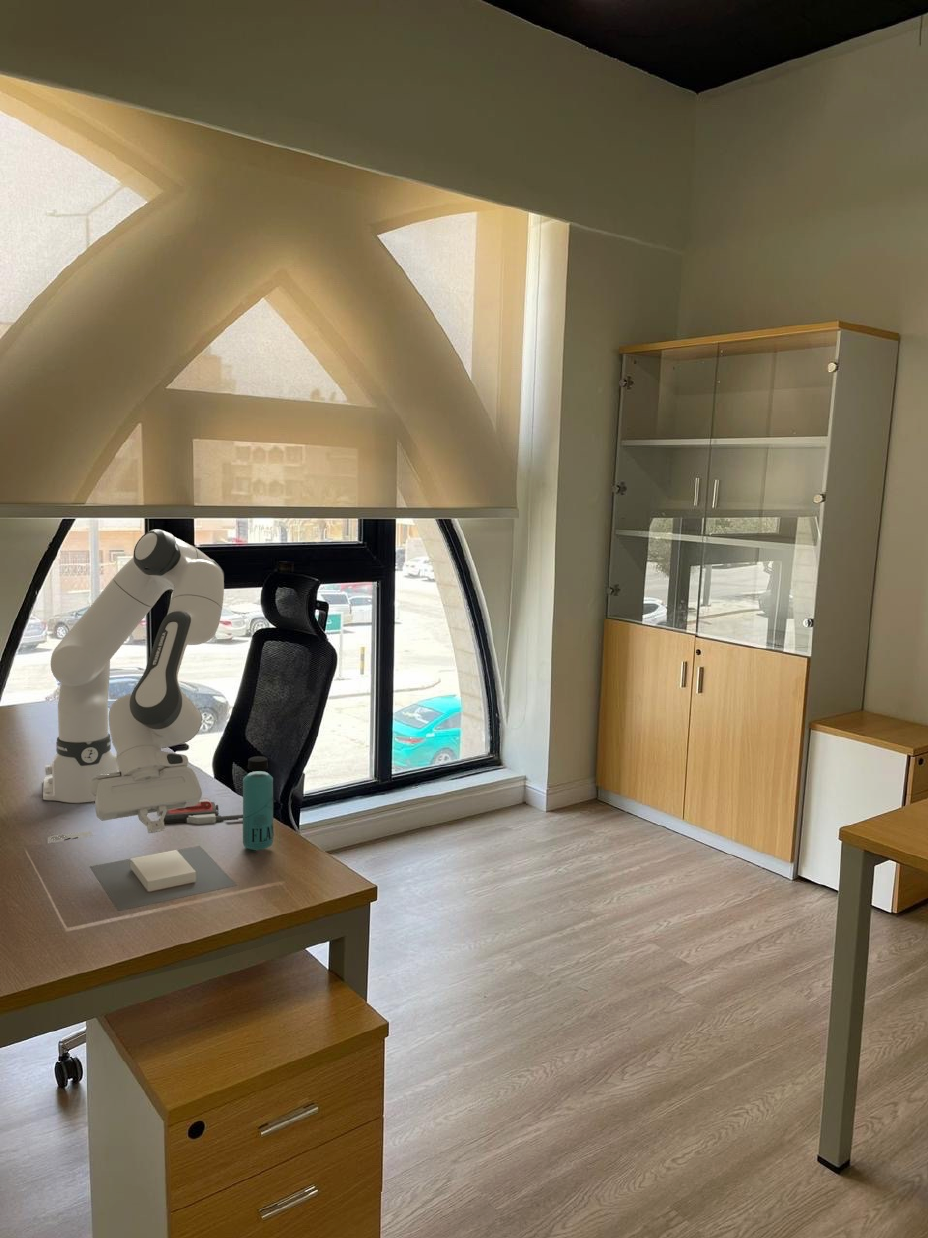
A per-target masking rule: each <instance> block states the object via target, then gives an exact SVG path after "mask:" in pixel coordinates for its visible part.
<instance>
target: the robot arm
mask: <svg viewBox="0 0 928 1238" xmlns="http://www.w3.org/2000/svg"><path fill="white" fill-rule="evenodd" d="M224 581H225V572H224V570H223V569H222V567H221V566H220V565H219V563H217V562H216V561H215V560H214V559H212V558H210V557H209V556H208V555H206V554H205V553H204V552H203V551H201V550H200V549H198V547H195V545H192V544H189V543H188V542H185V541H183V540H182V539H180V538H177V537H176V536H174V535H173V534H172V533H171V532H168V531H165V530H163V529H151V530H149V531H147V532H146V533H144V534H143V535H142V536H141V537H139V539H138V540H137V542H136V544H135V546H134V548H133V557H132V558H131V559H129V560H128V561H127V562H126V563H125V564H124V565H123V566H122V567H121V568H120V569H119V570H118V571H117V572H116V574H115V575H114V577H113V578H112V579H111V580H110V582H109V583H108V584H107V585H106V587H104V589H103V590H102V591H101V592H100V594H99V595H98V596H97V597H96V599H95V600H94V601H93V603H92V604H90V606H89V607H88V609H87V610H85V612H84V613H83V614H82V615H81V617H80V618H79V619H78V620H77V622H76V623H75V624H73V626H72V627H71V629H70V630H69V631H68V632H67V633H66V634H65V635H64V637H63V638H62V639H61V640H60V642H59V643H58V644H57V646H56V647H55V648H54V650H53V651H52V653H51V657H50V670H51V673H52V675H53V677H54V678H55V679H56V680H57V681H59V683H60V686H59V695H58V701H57V725H58V727H57V728H58V736H57V737H56V742H55V743H56V744H55V746H56V747H55V751H56V754H55V756H54V757H53V759H52V764H46V765H45V766H44V768H45V770H44V772H45V775H46V776H45V777H43V788H42V791H43V792H42V800H44V801H58V802H63V803H72V804H73V803H75V804H77V803H90V802H94V803H95V804H94V806H95V816H96V817H97V819H99V820H100V821H102V822H104V821H110V820H115V819H116V820H117V819H123V818H129V817H135V816H138V820H139V821H140V822H141V823H142V824H143V825H144V826H145V827H146V830H147V833H148V834H154V833H159V832H160V833H161V832H164V831H165V829H166V826H165V824H164V821H163V820H164V818H165V815H166V812H167V810H172V809H178V808H184V807H190V806H195V805H197V804H198V803H199V801H200V799H202V798H203V797H202V796H203V792H202V787H201V784H200V781H199V779H198V777H197V774H196V772H195V770H193V768H191V767H190V766H188V764H189V757H188V756H187V755H186V754H183V753H182V754H181V753H175V752H174V753H173V752H168V751H164V750H162V749H166V748H167V749H168V748H170V747H171V748H172V747H175V746H179V745H182V744H185V743H188V742H190V741H191V740H192V739H194V738H195V737H196V735H197V734H198V733H199V731H200V730H201V726H202V722H203V719H202V718H203V717H202V713H201V711H200V709H199V708H198V707H197V706H196V705H195V704H194V702H193V701H192V700H191V699H190V698H189V697H187V695H186V694H185V693H184V692H183V691H182V689H181V687H180V684H179V679H178V676H179V671H180V669H181V665H182V661H183V658H184V654H185V651H186V648H187V646H196V645H202V644H205V643H207V642H209V641H210V640H212V639H213V638H214V637H215V636H216V633H217V631H218V628H219V625H220V623H221V619H222V618H221V616H222V610H223V605H224V598H225V596H224V595H225V593H224V592H225V582H224ZM168 590H172V594H171V597H170V601H169V607H168V611H167V614H166V615H165V617H164V618H163V620H162V622H161V623H160V625H159V628H158V631H157V634H156V637H155V639H154V642H153V646H152V649H151V651H150V655H149V657H148V661H147V664H146V666H145V669H144V672H143V674H142V675H141V677H140V679H139V680H138V682H137V684H136V685H135V686H134V688H133V690H132V692H131V693H128V694H125V695H122V696H121V697H119V698H117V699H116V700H115V701H114V702H113V703H112V704H111V706H110V709H108V707H109V703H108V702H109V691H110V690H109V689H110V676H111V674H110V673H111V672H110V671H111V659H113V658H114V657H113V656H114V655H115V654H116V653H117V652H118V650H120V648H121V647H122V646H123V644H124V643H125V642H126V640H128V638H129V637H130V636H131V635H132V633H133V632H134V630H136V628H137V627H138V626H139V625H140V623H141V622H142V621H143V620H144V618H145V617H146V616H147V614H148V613H149V612H150V610H152V608H153V607H154V606H155V605H156V603H157V601H158V600H159V599H160V598H161V596H162V595H163V594H164V593H165V592H166V591H168ZM112 746H113V748H114V749H115V752H116V754H115V753H113V752H112V751H111V749H112ZM152 813H156V814H157V817H160V818H159V819H160V820H159V819H158V820H154V821H152V820H151V819H150V818H149V817H148V814H152Z"/></svg>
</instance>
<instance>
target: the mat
mask: <svg viewBox="0 0 928 1238" xmlns="http://www.w3.org/2000/svg"><path fill="white" fill-rule="evenodd" d="M176 850H177V851H178V852H179V853H180V854H181V855H182V857H183V858H184V859H185V860H186V861H187V862H188V863H189V865H190V866H191V867H192V868H193V869H194V870H195V871H196V882H194V883H191V884H186V885H181V886H176V887H172V888H167V889H162V890H157V891H152V892H149V891H147V889H146V888H145V887H144V885H143V884H142V883H141V881H140V880H139V879H138V877H137V876H136V875H135V873H134V872H133V871H132V869H131V858H128V859H122V860H121V859H120V860H118V861H113V862H105V863H100V864H96V865H90V866H89V868H90V870H91V871H92V873H93V874H94V876H95V877H96V878H97V879H96V880H98V881H99V883H100V885H101V886H102V888H103V889H104V891H105V893H106V894H107V896H108V897H109V899H110V901H111V902H112V903H113V905H114V907H115V908H116V909H117V911H118V912H121V911H125V910H129V909H135V908H139V907H143V906H149V905H152V904H157V903H162V902H167V901H173V900H176V899H181V898H185V897H190V896H195V895H199V894H204V893H208V892H213V891H217V890H218V891H219V890H222V889H227V888H231V887H232V888H233V887H237V886H238V884H237V883H236V881H234V880H233V879H232V878H231V877H230V875H228V874H227V872H226V871H225V870H224V869H223V868H222V867H221V866H220V865H219V864H218V863H217V862H216V861H215V860H214V858H212V856H211V855H210V854H208V852H207V851H206V850H205V849H203V847H202V846H201V845H196V846H191V847H185V848H180V849H176Z"/></svg>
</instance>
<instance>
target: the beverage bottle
mask: <svg viewBox="0 0 928 1238" xmlns="http://www.w3.org/2000/svg"><path fill="white" fill-rule="evenodd" d="M268 769H269V763H268V758H267V757H265V756H259V755H258V756H257V755H256V756H251V757H250V758H248V763H247V770H248V771H252V772H249V773H247V774H246V775H245V776H244V777H243V778H242V815H243V818H242V844H243V847H244V848H246V849H248V850H265V849H267V848H270V847H271V846H272V845H273V842H274V837H275V834H274V832H275V831H274V830H275V829H274V823H275V822H274V815H275V814H274V810H275V809H274V799H275V796H274V777H273V776H272V775H271V774H270V773H268V772H266V771H265V770H268Z"/></svg>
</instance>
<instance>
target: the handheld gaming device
mask: <svg viewBox="0 0 928 1238" xmlns="http://www.w3.org/2000/svg"><path fill="white" fill-rule="evenodd" d="M57 836H58V837H57ZM64 836H65V837H64ZM92 836H93V832H92V831H80V832H71V833H60V834H54V835H50V836H49V837H47V844H53V843H58V842H65V841H71V840H76V839H81V838H87V837H92ZM59 837H60V838H59ZM50 838H51V839H50ZM54 838H55V839H54ZM61 838H62V839H61ZM52 839H53V840H52ZM54 840H55V841H54Z"/></svg>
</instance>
